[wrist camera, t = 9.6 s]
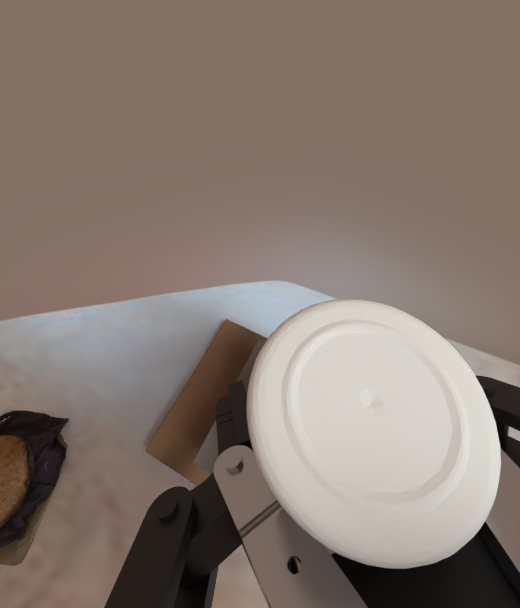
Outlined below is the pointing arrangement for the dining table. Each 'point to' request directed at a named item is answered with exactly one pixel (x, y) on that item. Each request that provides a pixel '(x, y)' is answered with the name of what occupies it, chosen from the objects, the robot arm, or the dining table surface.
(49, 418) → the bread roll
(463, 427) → the sprinkles bottle
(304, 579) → the robot arm
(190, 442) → the collar board
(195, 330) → the dining table surface
